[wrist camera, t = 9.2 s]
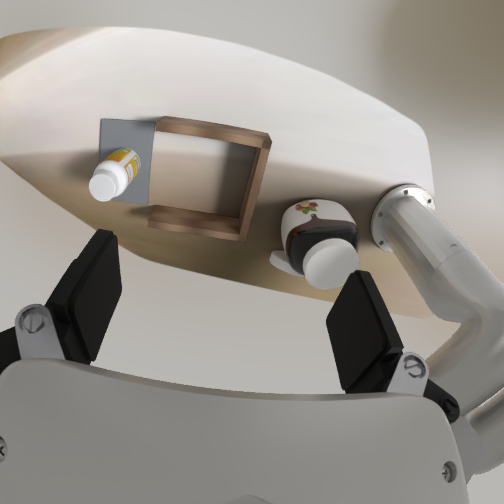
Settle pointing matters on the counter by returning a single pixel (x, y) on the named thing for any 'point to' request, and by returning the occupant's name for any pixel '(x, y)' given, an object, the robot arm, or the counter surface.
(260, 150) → the open front box
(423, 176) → the counter surface
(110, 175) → the supplement bottle
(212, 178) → the counter surface
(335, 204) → the spread jar
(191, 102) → the counter surface
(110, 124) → the slate mat
